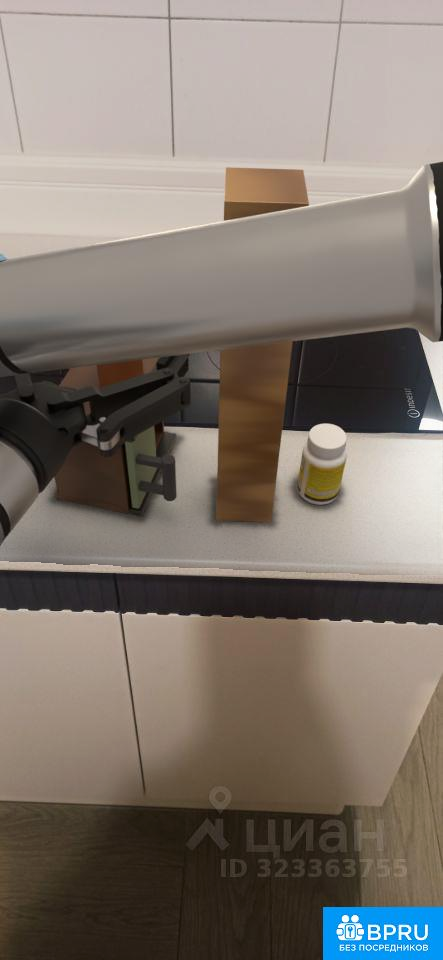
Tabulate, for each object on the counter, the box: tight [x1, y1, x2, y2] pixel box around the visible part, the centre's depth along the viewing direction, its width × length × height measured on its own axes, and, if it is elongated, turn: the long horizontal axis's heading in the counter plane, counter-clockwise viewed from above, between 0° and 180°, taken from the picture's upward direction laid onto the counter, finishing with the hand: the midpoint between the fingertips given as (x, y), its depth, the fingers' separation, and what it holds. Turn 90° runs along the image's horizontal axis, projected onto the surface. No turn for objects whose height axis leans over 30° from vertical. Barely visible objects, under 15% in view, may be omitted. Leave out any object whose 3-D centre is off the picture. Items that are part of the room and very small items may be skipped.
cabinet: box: [53, 357, 177, 517], centre depth 73 cm, size 10×13×12 cm
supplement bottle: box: [296, 423, 348, 506], centre depth 73 cm, size 5×5×8 cm
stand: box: [215, 167, 310, 523], centre depth 62 cm, size 6×6×35 cm
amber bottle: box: [96, 359, 144, 388], centre depth 65 cm, size 5×5×11 cm
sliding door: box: [125, 426, 178, 509], centre depth 70 cm, size 5×6×10 cm
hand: (124, 321), depth 64 cm, fingers open, 13 cm apart
